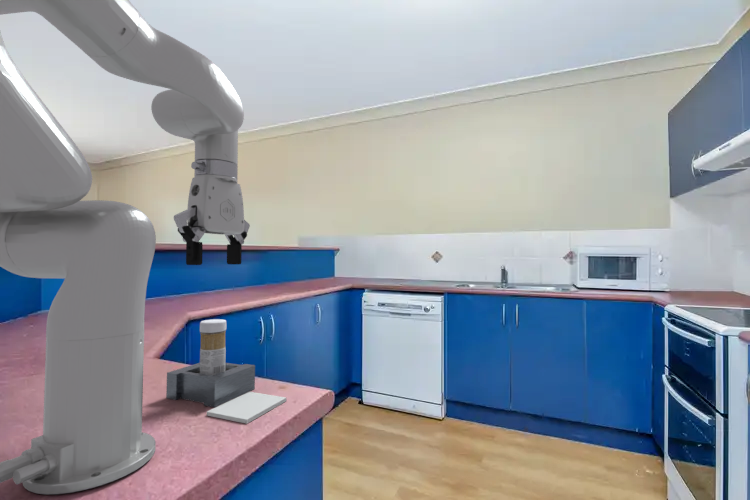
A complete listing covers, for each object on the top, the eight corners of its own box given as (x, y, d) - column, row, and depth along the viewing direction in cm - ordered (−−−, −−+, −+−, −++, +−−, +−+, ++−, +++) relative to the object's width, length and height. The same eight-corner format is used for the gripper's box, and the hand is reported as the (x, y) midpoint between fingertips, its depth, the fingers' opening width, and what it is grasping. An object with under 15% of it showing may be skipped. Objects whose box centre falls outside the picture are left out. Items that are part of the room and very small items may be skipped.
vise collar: (214, 407, 63) (214, 380, 63) (166, 398, 67) (166, 372, 67) (254, 388, 72) (255, 365, 72) (210, 381, 76) (210, 359, 76)
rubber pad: (246, 423, 56) (247, 419, 56) (206, 415, 59) (206, 411, 59) (286, 401, 66) (286, 397, 66) (249, 394, 69) (249, 391, 69)
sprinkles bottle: (221, 387, 73) (222, 317, 73) (228, 394, 69) (230, 320, 69) (195, 392, 70) (197, 320, 70) (202, 399, 66) (203, 323, 67)
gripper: (193, 161, 61) (192, 265, 61) (262, 181, 78) (261, 264, 77) (160, 165, 64) (159, 265, 64) (233, 184, 80) (233, 264, 80)
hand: (215, 264), depth 70 cm, fingers open, 9 cm apart
